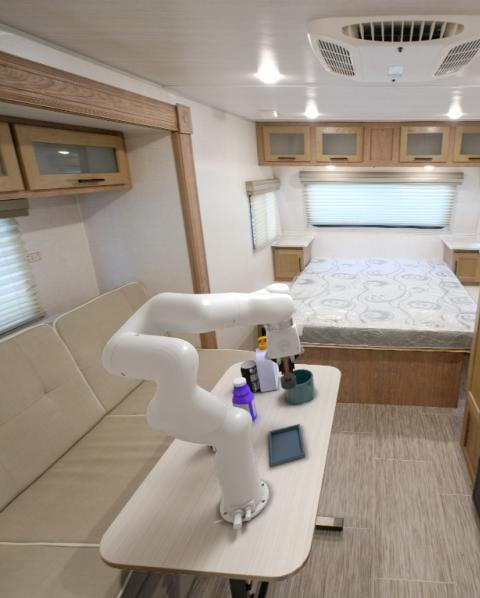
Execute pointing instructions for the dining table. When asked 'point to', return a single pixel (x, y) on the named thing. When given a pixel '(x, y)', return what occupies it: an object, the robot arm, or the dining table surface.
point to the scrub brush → (287, 375)
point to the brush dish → (286, 445)
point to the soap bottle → (265, 368)
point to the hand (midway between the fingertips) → (287, 371)
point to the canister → (301, 387)
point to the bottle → (244, 397)
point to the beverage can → (250, 375)
